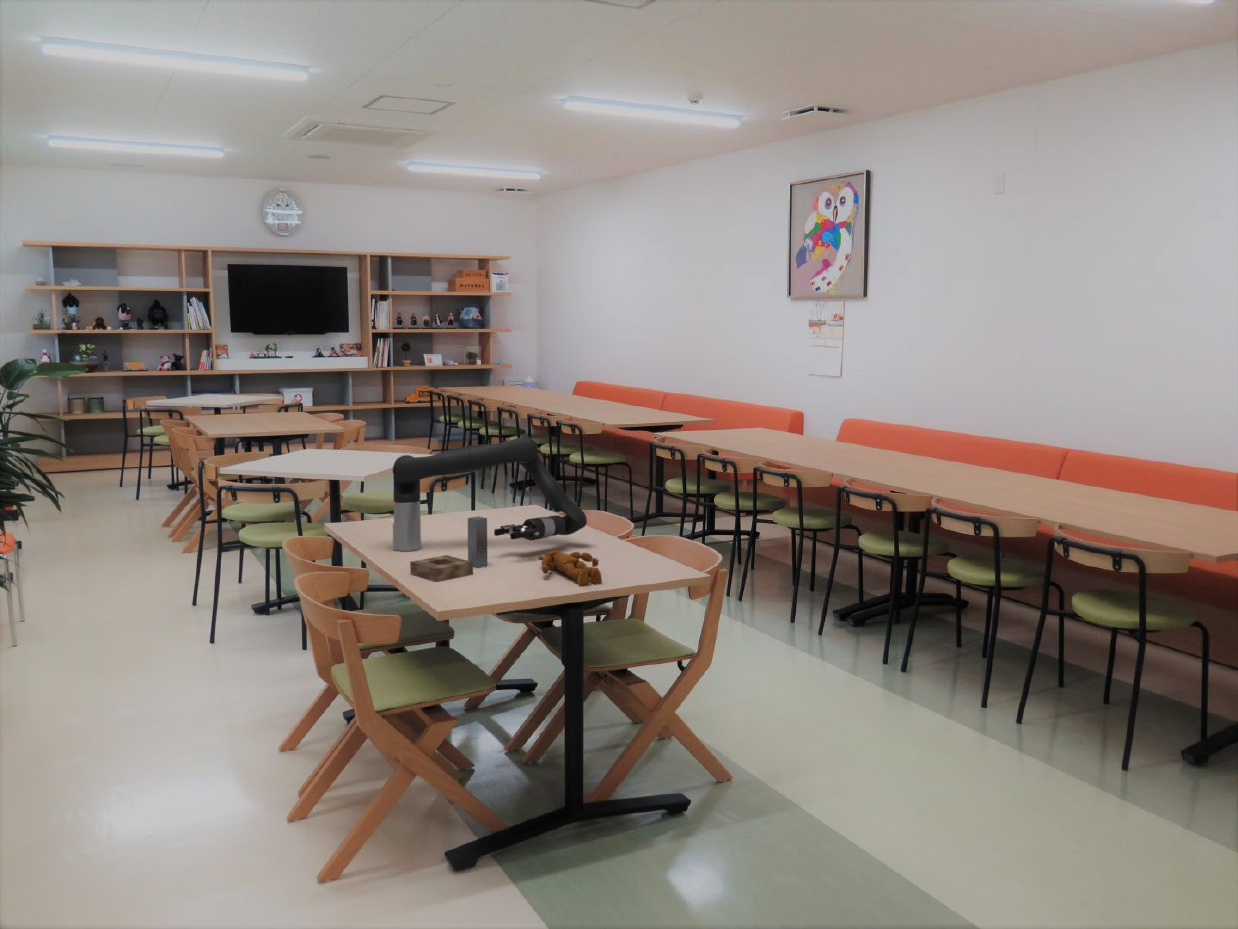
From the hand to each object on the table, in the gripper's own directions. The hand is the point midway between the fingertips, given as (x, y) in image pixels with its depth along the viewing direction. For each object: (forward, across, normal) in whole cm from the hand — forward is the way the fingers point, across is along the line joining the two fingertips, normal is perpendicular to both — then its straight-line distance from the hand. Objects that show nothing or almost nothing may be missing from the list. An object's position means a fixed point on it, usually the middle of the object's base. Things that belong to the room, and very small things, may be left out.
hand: (502, 534), depth 331 cm
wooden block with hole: (+26, +1, +9) cm, 28 cm away
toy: (-2, +30, +10) cm, 32 cm away
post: (+11, 0, +9) cm, 14 cm away
